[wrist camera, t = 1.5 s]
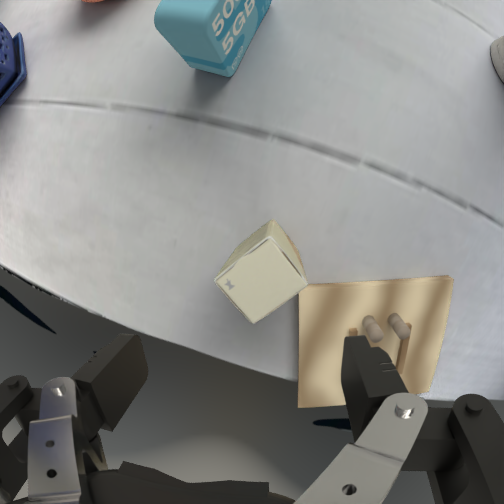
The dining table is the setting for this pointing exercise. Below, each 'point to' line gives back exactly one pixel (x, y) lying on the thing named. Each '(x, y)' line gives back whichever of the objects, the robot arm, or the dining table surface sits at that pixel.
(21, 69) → the flower pot
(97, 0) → the sugar bowl
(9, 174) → the dining table surface
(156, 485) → the robot arm
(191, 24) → the data package
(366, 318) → the tray
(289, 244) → the box
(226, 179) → the dining table surface
